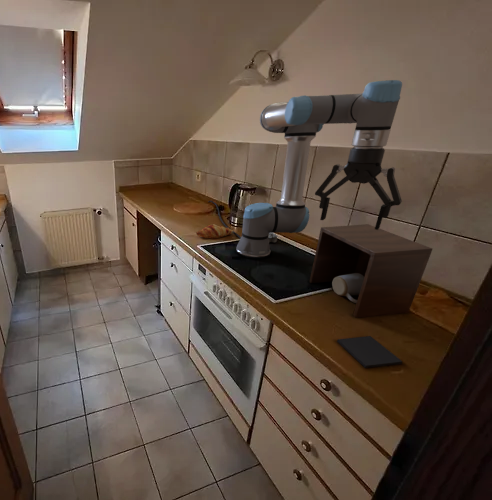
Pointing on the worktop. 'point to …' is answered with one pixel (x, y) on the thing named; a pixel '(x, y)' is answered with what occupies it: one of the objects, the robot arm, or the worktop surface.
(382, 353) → the mat
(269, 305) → the worktop surface
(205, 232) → the croissant
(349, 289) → the ceramic mug
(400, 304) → the cupboard
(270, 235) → the egg carton
